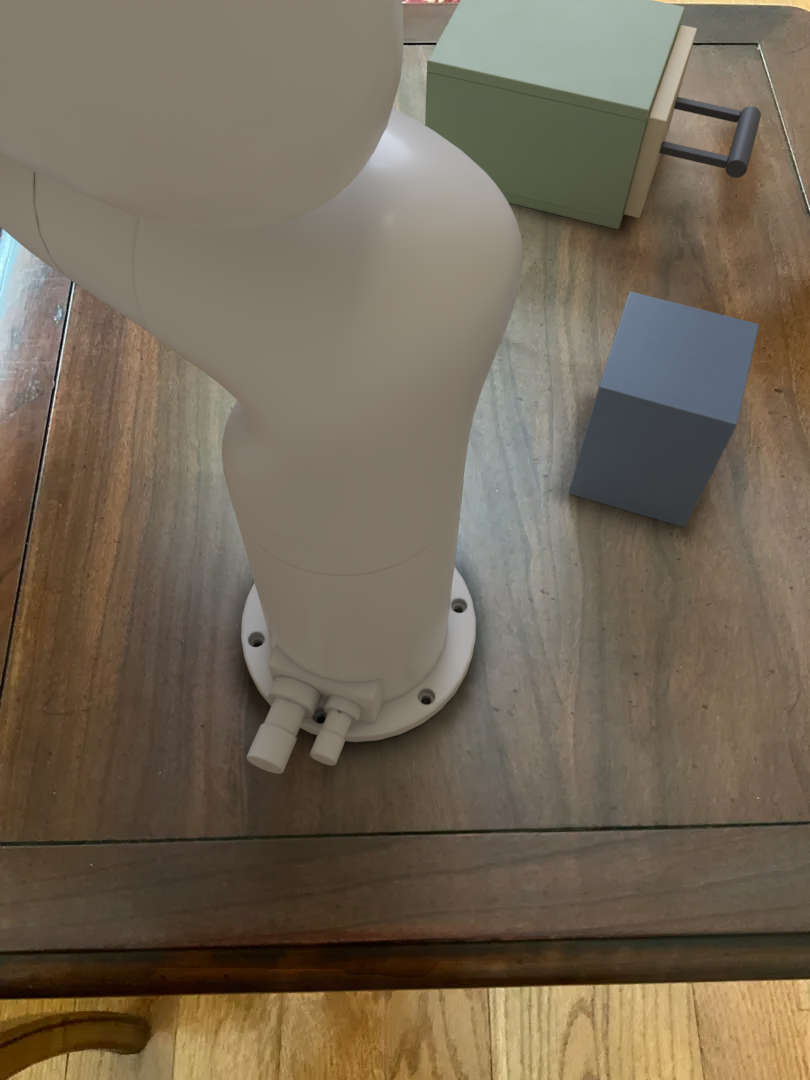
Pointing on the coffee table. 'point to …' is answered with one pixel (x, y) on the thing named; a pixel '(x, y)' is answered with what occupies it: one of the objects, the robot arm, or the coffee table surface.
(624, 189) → the cabinet
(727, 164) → the drawer
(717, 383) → the stand
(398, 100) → the coffee table surface
